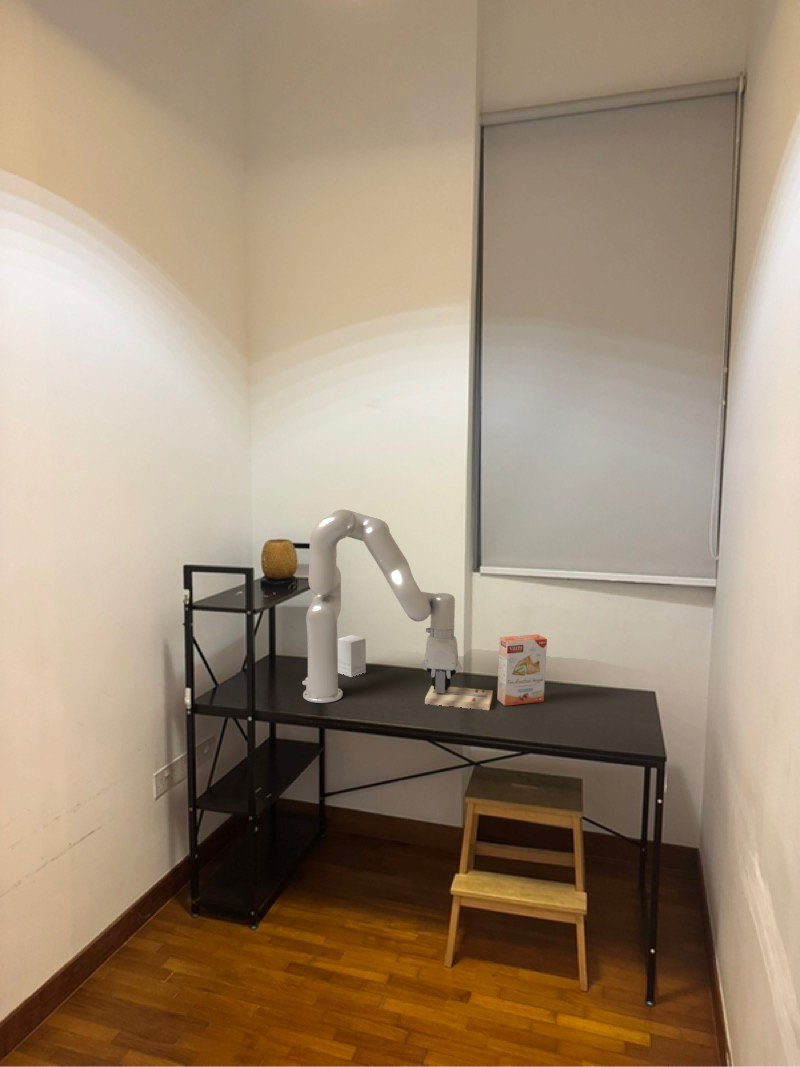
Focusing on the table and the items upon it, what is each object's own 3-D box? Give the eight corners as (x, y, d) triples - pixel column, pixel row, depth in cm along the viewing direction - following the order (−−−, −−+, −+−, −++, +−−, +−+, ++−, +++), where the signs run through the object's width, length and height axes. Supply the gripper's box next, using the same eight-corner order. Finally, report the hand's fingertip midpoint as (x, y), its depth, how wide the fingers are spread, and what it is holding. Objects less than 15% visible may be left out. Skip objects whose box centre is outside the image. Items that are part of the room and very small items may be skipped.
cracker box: (505, 707, 214) (507, 641, 211) (496, 700, 219) (498, 636, 217) (545, 702, 218) (547, 638, 215) (535, 695, 224) (537, 633, 221)
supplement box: (366, 673, 244) (366, 638, 242) (350, 678, 239) (350, 642, 237) (352, 668, 249) (352, 634, 247) (336, 672, 244) (336, 638, 242)
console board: (424, 704, 215) (425, 697, 215) (431, 690, 227) (431, 684, 227) (489, 710, 211) (489, 703, 211) (492, 696, 223) (492, 689, 222)
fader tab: (435, 692, 218) (435, 670, 217) (437, 687, 222) (438, 666, 221) (444, 693, 217) (445, 671, 216) (446, 688, 222) (447, 667, 221)
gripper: (414, 634, 216) (413, 690, 218) (466, 637, 212) (465, 695, 214) (419, 627, 223) (418, 682, 225) (469, 631, 219) (468, 687, 222)
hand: (441, 688), depth 220 cm, fingers closed on fader tab, 3 cm apart
